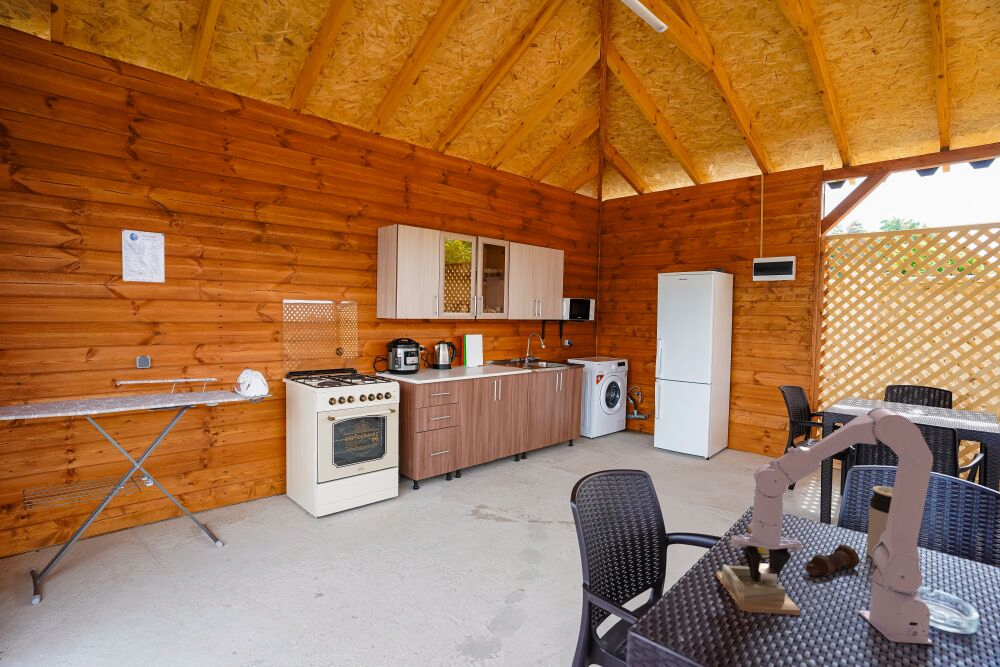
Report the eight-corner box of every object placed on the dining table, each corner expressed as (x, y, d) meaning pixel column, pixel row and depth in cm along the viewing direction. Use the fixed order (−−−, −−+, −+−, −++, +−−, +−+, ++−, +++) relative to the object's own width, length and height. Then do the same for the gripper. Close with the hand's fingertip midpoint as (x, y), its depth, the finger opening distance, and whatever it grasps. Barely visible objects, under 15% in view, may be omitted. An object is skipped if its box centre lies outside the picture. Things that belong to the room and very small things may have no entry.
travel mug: (859, 553, 133) (864, 487, 132) (879, 549, 136) (884, 484, 135) (891, 568, 126) (897, 498, 125) (911, 563, 129) (917, 494, 128)
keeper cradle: (800, 614, 105) (801, 596, 104) (741, 611, 105) (743, 592, 105) (767, 578, 119) (768, 562, 118) (716, 575, 119) (717, 559, 119)
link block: (775, 596, 109) (777, 574, 109) (759, 595, 110) (761, 573, 109) (765, 585, 114) (767, 563, 114) (750, 584, 114) (751, 562, 114)
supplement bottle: (771, 560, 128) (774, 523, 127) (748, 555, 130) (750, 519, 129) (768, 550, 133) (770, 515, 133) (746, 546, 135) (748, 511, 134)
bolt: (806, 582, 121) (844, 569, 127) (825, 582, 117) (863, 568, 123) (796, 557, 123) (834, 544, 130) (814, 555, 119) (852, 542, 126)
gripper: (790, 514, 115) (787, 572, 115) (726, 511, 115) (723, 568, 116) (808, 527, 108) (804, 589, 108) (739, 524, 108) (736, 585, 109)
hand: (763, 579), depth 112 cm, fingers closed on link block, 3 cm apart
